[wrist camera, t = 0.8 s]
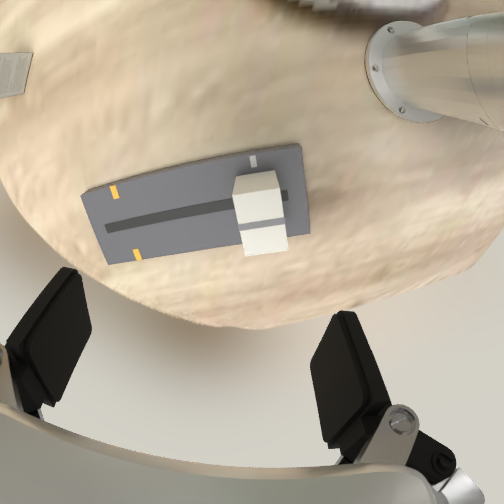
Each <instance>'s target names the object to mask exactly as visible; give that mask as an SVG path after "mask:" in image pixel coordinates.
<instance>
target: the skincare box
mask: <svg viewBox="0 0 504 504" xmlns="http://www.w3.org/2000/svg"><path fill="white" fill-rule="evenodd" d="M32 55H33V53H0V98H5V97H10V96H15V95H20V94H23V93H24V89H25V84H26V79H27V75H28V70H29V66H30V62H31V58H32Z"/></svg>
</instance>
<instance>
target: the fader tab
mask: <svg viewBox="0 0 504 504" xmlns="http://www.w3.org/2000/svg"><path fill="white" fill-rule="evenodd" d="M232 197H233V202H234V207H235V211H236V216H237V221H238V229H239V231H240V235H241V239H242V244H243V248H244V253H245V256H252V255H259V254H266V253H272V252H279V251H286V250H288V243H287V235H286V228H285V224H286V223H285V217H284V213H283V206H282V199H281V192H280V187H279V183H278V180H277V176H276V173H275V170H272V171H265V172H259V173H253V174H247V175H241V176H236V179H235V184H234V189H233V194H232Z"/></svg>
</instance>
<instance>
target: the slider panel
mask: <svg viewBox="0 0 504 504" xmlns="http://www.w3.org/2000/svg"><path fill="white" fill-rule="evenodd" d="M272 170H275V173H276V176H277V180H278V183H279V187H280V192H281V199H282V206H283V213H284V217H285V223H286V224H285V228H286V235H287V237H290V236H297V235H304V234H310V223H309V212H308V202H307V193H306V184H305V175H304V167H303V159H302V151H301V146H300V145H299V144H292V145H284V146H277V147H270V148H264V149H257V150H251V151H245V152H240V153H234V154H229V155H223V156H218V157H213V158H208V159H203V160H199V161H194V162H190V163H185V164H181V165H176V166H172V167H168V168H164V169H160V170H156V171H152V172H148V173H144V174H141V175H137V176H133V177H130V178H126V179H123V180H119V181H116V182H113V183H109V184H106V185H103V186H99V187H96V188H93V189H90V190H88V191H86V192H85V193H83V194H82V195H81V199H82V201H83V204H84V207H85V210H86V212H87V215H88V218H89V220H90V223H91V225H92V228H93V230H94V233H95V235H96V238H97V240H98V243H99V245H100V247H101V250H102V252H103V254H104V256H105V259H106V261H107V263H108V265H111V264H117V263H123V262H129V261H135V260H137V261H138V260H142V259H148V258H154V257H160V256H167V255H173V254H179V253H186V252H192V251H198V250H205V249H211V248H218V247H224V246H231V245H237V244H242V239H241V235H240V231H239V229H238V221H237V216H236V211H235V207H234V202H233V197H232V194H233V189H234V184H235V179H236V176H241V175H247V174H253V173H259V172H265V171H272Z"/></svg>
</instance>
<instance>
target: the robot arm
mask: <svg viewBox="0 0 504 504" xmlns="http://www.w3.org/2000/svg"><path fill="white" fill-rule="evenodd" d="M388 31H389V32H388ZM365 64H366V72H367V75H368V79H369V82H370V84H371V86H372V88H373V91H374V92H375V94H376V95H377V97H378V98H379V100H380V101H381V102H382V103H383V104H384V105H385V106H386V108H388V109H389V110H390V111H391V112H393V113H394V114H395V115H397V116H399V117H401V118H403V119H406V120H409V121H412V122H417V123H428V122H433V121H436V120H438V119H440V118H441V117H443V116H444V115H446V116H450V117H454V118H458V119H462V120H466V121H470V122H473V123H477V124H480V125H483V126H487V127H490V128H493V129H496V130H499V131H502V132H504V12H496V13H488V14H482V15H475V16H469V17H464V18H459V19H454V20H450V21H445V22H441V23H437V24H433V25H429V26H425V27H424V26H422V25H419V24H417V23H413V22H410V21H396V22H391V23H389V24H386V25H384V26H383V27H381V28H379V29H378V30H377V31H376V32H375V33H374V34H373V35H372V37H371V39H370V41H369V43H368V46H367V49H366V57H365ZM372 67H374V71H373V70H372ZM399 108H400V111H399ZM91 331H92V326H91V321H90V317H89V312H88V308H87V303H86V298H85V293H84V288H83V282H82V277H81V275H80V274H78V271H77V270H76V269H72V268H67V267H62V268H61V269H60V270H59V271H58V273H57V274H56V275H55V276H54V277H53V278H52V280H51V281H50V282H49V283H48V285H47V286H46V287H45V288H44V290H43V291H42V292H41V294H40V295H39V296H38V298H37V299H36V300H35V301H34V303H33V304H32V305H31V307H30V308H29V309H28V311H27V312H26V313H25V315H24V316H23V317H22V319H21V320H20V322H19V323H18V325H17V326H16V327H15V329H14V330H13V332H12V333H11V335H10V336H9V338H8V339H7V343H6V345H5V346H3V345H2V344H0V504H484V502H485V499H484V495H483V493H482V491H481V490H480V489H479V488H478V487H477V486H476V485H475V484H474V482H473V481H472V480H471V479H470V478H469V477H468V476H467V475H466V474H465V473H464V471H462V469H461V468H458V469H456V459H455V455H454V454H453V452H452V451H451V450H450V449H449V448H447V447H446V446H444V445H442V444H441V443H439V442H437V441H436V440H434V439H433V438H431V437H429V436H428V435H426V434H425V433H423V432H422V431H420V430H419V419H418V417H417V415H416V414H415V412H414V411H413V410H412V409H410V408H409V407H407V406H405V405H399V404H397V405H392V404H391V401H390V398H389V395H388V392H387V390H386V387H385V384H384V381H383V379H382V376H381V373H380V371H379V368H378V365H377V363H376V361H375V358H374V355H373V353H372V350H371V349H370V346H369V344H368V341H367V339H366V336H365V334H364V332H363V329H362V327H361V324H360V322H359V320H358V317H357V315H356V313H355V312H351V311H339V312H338V313H337V314H334V315H333V316H332V319H331V321H330V323H329V325H328V327H327V329H326V331H325V334H324V335H323V337H322V340H321V341H320V343H319V345H318V347H317V349H316V351H315V353H314V355H313V358H312V360H311V362H310V370H311V375H312V381H313V386H314V391H315V397H316V402H317V407H318V413H319V418H320V425H321V430H322V436H323V440H324V442H327V443H328V449H335V448H340V452H341V456H340V458H339V459H338V461H337V462H336V464H335V465H332V466H320V467H297V468H251V467H234V466H221V465H211V464H202V463H194V462H187V461H181V460H175V459H169V458H164V457H158V456H153V455H149V454H144V453H140V452H136V451H131V450H128V449H124V448H120V447H116V446H113V445H109V444H106V443H103V442H100V441H96V440H93V439H90V438H87V437H84V436H82V435H79V434H76V433H73V432H70V431H68V430H65V429H63V428H60V427H57V426H55V425H52V424H50V423H48V422H45V421H44V418H43V415H42V412H41V409H40V408H41V406H42V403H44V404H47V405H49V406H51V407H54V406H55V403H56V401H57V402H59V401H60V400H61V398H62V395H63V393H64V391H65V388H66V386H67V384H68V381H69V379H70V377H71V374H72V372H73V370H74V368H75V366H76V364H77V362H78V359H79V357H80V355H81V353H82V351H83V349H84V347H85V345H86V343H87V341H88V339H89V337H90V335H91Z"/></svg>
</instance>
